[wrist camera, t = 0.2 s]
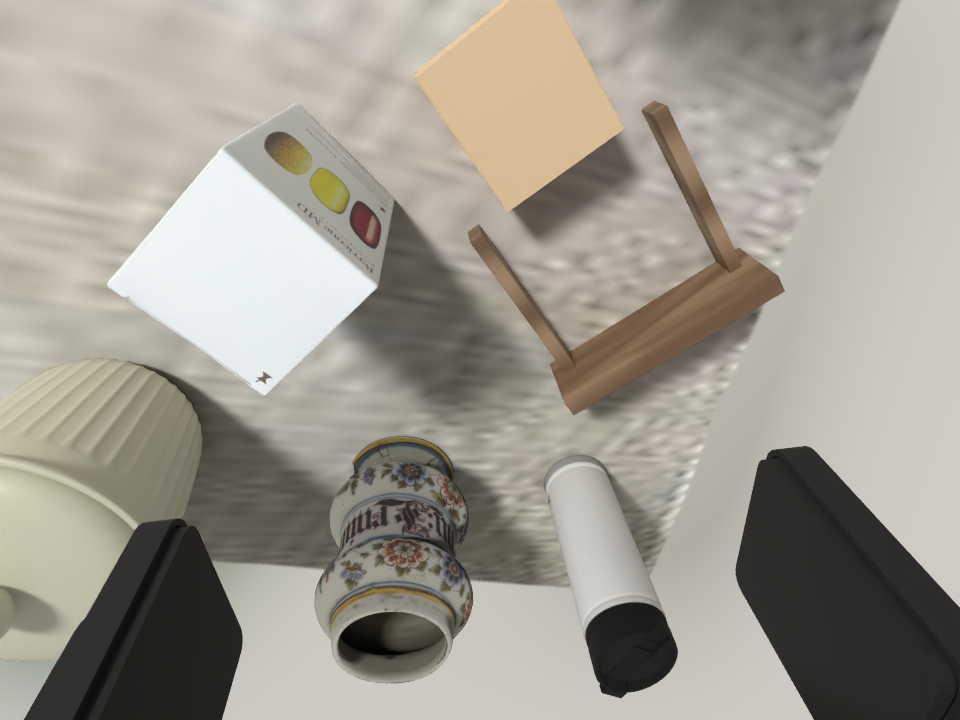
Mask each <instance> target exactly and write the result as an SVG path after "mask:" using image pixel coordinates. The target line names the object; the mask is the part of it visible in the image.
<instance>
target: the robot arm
mask: <svg viewBox="0 0 960 720" xmlns="http://www.w3.org/2000/svg"><path fill="white" fill-rule="evenodd" d="M736 578H737V582H738V585H739V587H740V589H741V591H742V593H743V595H744V597H745V598H746V600H747V602H748V604H749V606H750V607H751V609H752V611H753V613H754V614H755V616H756V618H757V619H758V621H759V623H760V625H761V627H762V629H763V630H764V632H765V634H766V635H767V637H768V639H769V641H770V643H771V644H772V646H773V648H774V650H775V651H776V653H777V655H778V657H779V659H780V660H781V662H782V664H783V665H784V667H785V669H786V671H787V673H788V675H789V676H790V678H791V680H792V682H793V683H794V685H795V687H796V689H797V690H798V692H799V694H800V696H801V697H802V699H803V701H804V703H805V705H806V706H807V708H808V710H809V712H810V713H811V715H812V717H813V719H814V720H960V607H959V606H958V605H957V604H956V603H955V602H954V601H953V600H952V599H951V598H950V597H949V596H948V595H947V593H946V592H945V591H944V590H943V589H942V588H941V587H940V586H939V585H938V584H937V583H936V582H935V581H934V579H933V578H932V577H931V576H930V575H929V574H928V573H927V572H926V571H925V570H924V568H923V567H922V566H921V565H920V564H919V563H918V562H917V561H916V560H915V559H914V558H913V557H912V556H911V554H910V553H909V552H908V551H907V550H906V549H905V548H904V547H903V546H902V545H901V544H900V543H899V541H898V540H897V539H896V538H895V537H894V536H893V535H892V534H891V533H890V532H889V531H888V530H887V528H886V527H885V526H884V525H883V524H882V523H881V522H880V521H879V520H878V519H877V518H876V517H875V515H874V514H873V513H872V512H871V511H870V510H869V509H868V508H867V507H866V506H865V505H864V503H862V501H861V500H860V499H859V498H858V497H857V496H856V495H855V494H854V493H853V492H852V490H850V488H849V487H848V486H847V485H846V484H845V483H844V482H843V481H842V480H841V479H840V477H839V476H838V475H837V474H836V473H835V472H834V471H833V470H832V469H831V468H830V467H829V466H828V464H827V463H826V462H825V461H824V460H823V459H822V458H821V457H820V456H819V455H818V454H817V453H816V452H815V451H814V450H813V449H812V448H810V447H807V446H802V447H794V448H786V449H776V450H772V451H770V452H769V453H768V455H767V458H766V460H761V461H760V462H759V465H758V468H757V472H756V477H755V482H754V486H753V491H752V495H751V500H750V504H749V509H748V513H747V518H746V523H745V527H744V532H743V536H742V541H741V545H740V551H739V555H738V559H737V564H736ZM241 650H242V630H241V627H240V625H239V623H238V620H237V618H236V616H235V614H234V611H233V609H232V607H231V604H230V602H229V600H228V598H227V595H226V593H225V591H224V589H223V586H222V584H221V582H220V580H219V577H218V575H217V573H216V571H215V568H214V566H213V564H212V561H211V559H210V557H209V555H208V552H207V550H206V548H205V546H204V543H203V541H202V539H201V536H200V534H199V532H198V530H197V529H196V527H194V526H187V524H186V523H185V521H184V520H182V519H181V518H177V519H168V520H159V521H151V522H143V523H141V524H140V525H138V527H137V528H136V529H135V531H134V532H133V534H132V536H131V538H130V539H129V541H128V543H127V545H126V547H125V548H124V550H123V552H122V554H121V555H120V557H119V559H118V561H117V563H116V564H115V566H114V568H113V570H112V571H111V573H110V575H109V577H108V578H107V580H106V582H105V584H104V586H103V587H102V589H101V591H100V593H99V594H98V596H97V598H96V600H95V602H94V603H93V605H92V607H91V609H90V610H89V612H88V614H87V616H86V617H85V619H84V620H83V621H81V623H80V624H79V626H78V627H77V628H76V630H75V631H74V633H73V634H72V636H71V638H70V640H69V641H68V643H67V645H66V647H65V648H64V650H63V652H62V654H61V655H60V657H59V659H58V661H57V663H56V664H55V666H54V668H53V669H52V671H51V673H50V675H49V676H48V678H47V680H46V682H45V684H44V685H43V687H42V689H41V691H40V692H39V694H38V696H37V698H36V699H35V701H34V703H33V705H32V706H31V708H30V710H29V712H28V713H27V715H26V717H25V719H24V720H222V717H223V713H224V710H225V706H226V703H227V700H228V696H229V692H230V689H231V686H232V682H233V678H234V675H235V671H236V668H237V664H238V661H239V658H240V654H241Z"/></svg>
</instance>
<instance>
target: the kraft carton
mask: <svg viewBox="0 0 960 720" xmlns="http://www.w3.org/2000/svg"><path fill="white" fill-rule="evenodd" d="M415 79H416V81H417V82H418V83H419V85H420V86H421V88H422V89H423V91H424V92H425V94H426V95H427V96H428V98H429V99H430V101H431V102H432V104H433V105H434V107H435V108H436V109H437V111H438V112H439V114H440V115H441V117H442V118H443V120H444V121H445V122H446V124H447V125H448V127H449V128H450V130H451V131H452V133H453V134H454V135H455V137H456V138H457V140H458V141H459V143H460V144H461V145H462V147H463V148H464V150H465V151H466V153H467V154H468V156H469V157H470V158H471V160H472V161H473V163H474V164H475V166H476V167H477V169H478V170H479V171H480V173H481V174H482V176H483V177H484V179H485V180H486V182H487V183H488V184H489V186H490V187H491V189H492V190H493V192H494V193H495V195H496V196H497V197H498V199H499V200H500V202H501V203H502V205H503V206H504V208H505V209H506V210H507V212H509V211H510V210H512V209H513V208H514V207H516V206H517V205H519V204H520V203H521V202H523V201H524V200H526V199H527V198H528V197H530V196H531V195H533V194H534V193H535V192H537V191H538V190H540V189H541V188H542V187H544V186H545V185H547V184H548V183H549V182H551V181H552V180H554V179H555V178H556V177H558V176H559V175H561V174H562V173H563V172H565V171H566V170H567V169H569V168H570V167H572V166H573V165H574V164H576V163H577V162H579V161H580V160H581V159H583V158H584V157H586V156H587V155H588V154H590V153H591V152H593V151H594V150H595V149H597V148H598V147H600V146H601V145H602V144H604V143H605V142H607V141H608V140H609V139H611V138H612V137H614V136H615V135H616V134H618V133H619V132H621V131H622V130H623V129H624V127H623V125H622V123H621V122H620V120H619V118H618V116H617V114H616V112H615V110H614V108H613V107H612V105H611V103H610V101H609V99H608V97H607V95H606V94H605V92H604V90H603V88H602V86H601V84H600V82H599V81H598V79H597V77H596V75H595V73H594V71H593V69H592V67H591V66H590V64H589V62H588V60H587V58H586V56H585V54H584V53H583V51H582V49H581V47H580V45H579V43H578V41H577V40H576V38H575V36H574V34H573V32H572V30H571V28H570V26H569V25H568V23H567V21H566V19H565V17H564V15H563V13H562V12H561V10H560V8H559V6H558V4H557V2H556V0H504V1H502V2H501V3H500V4H499V5H497V6H496V7H495V8H494V9H493V10H491V11H490V12H489V13H488V14H486V15H485V16H484V17H483V18H482V19H480V20H479V21H478V22H477V23H475V24H474V25H473V26H472V27H471V28H469V29H468V30H467V31H466V32H464V33H463V34H462V35H461V36H460V37H458V38H457V39H456V40H455V41H453V42H452V43H451V44H450V45H449V46H447V47H446V48H445V49H444V50H442V51H441V52H440V53H439V54H438V55H436V56H435V57H434V58H433V59H432V60H430V61H429V62H428V63H427V64H425V65H424V66H423V67H422V68H421V69H419V70H418V71H417V72H416V75H415Z"/></svg>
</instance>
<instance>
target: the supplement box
mask: <svg viewBox="0 0 960 720" xmlns="http://www.w3.org/2000/svg"><path fill="white" fill-rule="evenodd" d="M394 202H395V200H394V199H393V197H392V196H391V195H390V194H389V193H387V192H386V191H385V190H384V189H383V188H382V187H381V186H380V185H379V184H378V183H377V182H376V181H375V180H374V179H373V178H372V177H371V176H370V175H369V174H368V173H367V172H366V171H365V170H364V169H363V168H362V167H361V166H360V165H359V164H358V163H357V162H356V161H355V160H354V159H353V158H352V157H351V156H350V155H349V154H348V153H347V152H346V151H345V150H344V149H343V148H342V147H341V146H340V145H339V144H338V143H337V142H336V141H335V140H334V139H333V138H332V137H331V136H330V135H329V134H328V133H327V132H326V131H325V130H324V129H323V128H322V127H321V126H320V125H319V124H318V123H317V122H316V121H315V120H314V119H313V118H312V117H311V116H310V115H309V114H308V113H307V112H306V111H305V110H304V109H303V108H302V107H301V106H299V105H298V104H296V103H295V104H293V105H292V106H290V107H288V108H287V109H285V110H283V111H282V112H280V113H278V114H276V115H275V116H273V117H271V118H270V119H268V120H266V121H265V122H263V123H261V124H260V125H258V126H256V127H255V128H253V129H251V130H249V131H248V132H246V133H244V134H242V135H241V136H239V137H237V138H236V139H234V140H233V141H231V142H229V143H228V144H226V145H224V146H223V147H222V148H221V149H220V150H219V151H218V153H217V154H216V155H215V156H214V158H213V159H212V160H211V161H210V162H209V163H208V165H207V166H206V167H205V168H204V169H203V170H202V172H201V173H200V174H199V175H198V176H197V178H196V179H195V180H194V181H193V182H192V183H191V185H190V186H189V187H188V188H187V189H186V191H185V192H184V193H183V194H182V195H181V197H180V198H179V199H178V200H177V201H176V203H175V204H174V205H173V206H172V207H171V209H170V210H169V211H168V212H167V213H166V214H165V216H164V217H163V218H162V219H161V220H160V222H159V223H158V224H157V225H156V226H155V228H154V229H153V230H152V231H151V232H150V233H149V235H148V236H147V237H146V238H145V239H144V241H143V242H142V243H141V244H140V245H139V246H138V248H137V249H136V250H135V251H134V252H133V253H132V255H131V256H130V257H129V258H128V259H127V261H126V262H125V263H124V264H123V265H122V267H121V268H120V269H119V270H118V271H117V272H116V273H115V275H114V276H113V277H112V278H111V279H110V280H109V281H108V284H107V286H108V287H109V288H110V289H112V290H113V291H115V292H116V293H118V294H119V295H121V296H122V297H124V298H125V299H127V300H129V301H130V302H131V303H133V304H134V305H136V306H137V307H139V308H140V309H142V310H143V311H145V312H146V313H148V314H149V315H151V316H152V317H154V318H155V319H157V320H158V321H160V322H161V323H163V324H164V325H166V326H167V327H169V328H170V329H171V330H173V331H174V332H176V333H177V334H179V335H180V336H181V337H183V338H184V339H186V340H187V341H189V342H190V343H191V344H193V345H194V346H196V347H197V348H199V349H200V350H201V351H203V352H204V353H206V354H207V355H209V356H210V357H211V358H213V359H214V360H215V361H217V362H218V363H220V364H221V365H222V366H224V367H225V368H226V369H228V370H229V371H230V372H232V373H233V374H234V375H236V376H237V377H239V378H240V379H241V380H243V381H244V382H245V383H247V384H248V385H249V386H250V387H252V388H253V389H254V390H255V391H257V392H258V393H259V394H260V395H262V396H266V395H267V394H268V393H269V392H270V391H271V390H272V389H273V388H274V387H275V386H276V385H277V384H278V383H279V382H280V381H281V380H282V379H283V378H284V377H285V376H286V375H288V374H289V373H290V372H291V371H292V370H293V369H294V368H295V367H296V366H297V365H298V364H299V363H300V362H301V361H302V360H303V359H304V358H305V357H306V356H307V355H308V354H309V353H310V352H311V351H312V350H313V349H314V348H315V347H317V346H318V345H319V344H320V343H321V342H322V341H323V340H324V339H325V338H326V337H327V336H328V335H329V334H330V333H331V332H332V331H333V330H334V329H335V328H336V327H337V326H338V325H339V324H340V323H341V322H342V321H343V320H344V319H346V318H347V317H348V316H349V315H350V314H351V313H352V312H353V311H354V310H355V309H356V308H357V307H358V306H359V305H360V304H361V303H362V302H363V301H364V300H365V299H366V298H367V297H368V296H369V295H370V294H371V293H372V292H374V291H375V290H376V289H377V288H378V285H379V280H380V275H381V269H382V264H383V259H384V253H385V249H386V243H387V238H388V232H389V228H390V222H391V217H392V212H393V207H394Z"/></svg>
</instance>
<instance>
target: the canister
mask: <svg viewBox="0 0 960 720" xmlns="http://www.w3.org/2000/svg"><path fill="white" fill-rule="evenodd" d="M201 447H202V434H201V425H200V423H199V421H198V416H197V413H196V412H195V411H194V410H193V407H192V404H191V403H190V402H189V401H188V400H187V399H186V397H185V395H184V394H183V393H182V392H180V391H179V390H178V389H177V387H176V385H173V384H171V383H170V382H169V381H168V380H167V379H166V378H165V377H162V376H160V375H158V374H157V373H156V372H155V371H151V370H148V369H146V368H144V367H143V366H139V365H135V364H132V363H131V362H123V361H119V360H117V359H111V360H108V359H103V358H97V359H93V360H92V359H82V360H79V361H73V362H68V363H65V364H63V365H60V366H57V367H54V368H51V369H49V370H47V371H45V372H44V373H42V374H40V375H39V376H37V377H35V378H34V379H32V380H30V381H29V382H27V383H25V384H24V385H22V386H21V387H19V388H17V389H16V390H14V391H13V392H11V393H9V394H8V395H6V396H5V397H3V398H2V399H0V660H8V661H23V662H37V661H38V662H39V661H53V660H58V659H59V657H60V655H61V654H62V652H63V650H64V648H65V647H66V645H67V643H68V641H69V640H70V638H71V636H72V634H73V633H74V631H75V630H76V628H77V627H78V626H79V624H80V623H81V621H83V620H84V619H85V617H86V616H87V614H88V612H89V610H90V609H91V607H92V605H93V603H94V602H95V600H96V598H97V596H98V594H99V593H100V591H101V589H102V587H103V586H104V584H105V582H106V580H107V578H108V577H109V575H110V573H111V571H112V570H113V568H114V566H115V564H116V563H117V561H118V559H119V557H120V555H121V554H122V552H123V550H124V548H125V547H126V545H127V543H128V541H129V539H130V538H131V536H132V534H133V532H134V531H135V529H136V528H137V527H138V525H140V524H141V523H143V522H151V521H159V520H168V519H177V518H181V519H182V520H183V517H184V514H185V511H186V507H187V504H188V501H189V498H190V494H191V491H192V488H193V484H194V480H195V477H196V473H197V469H198V466H199V462H200V458H201V451H202V448H201Z"/></svg>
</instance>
